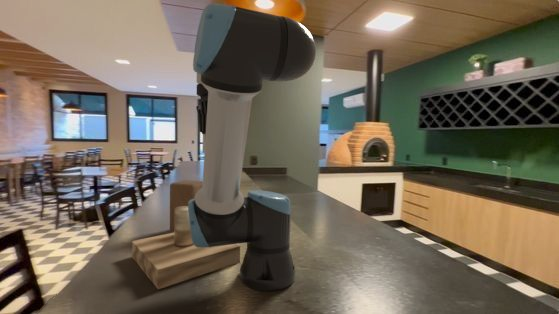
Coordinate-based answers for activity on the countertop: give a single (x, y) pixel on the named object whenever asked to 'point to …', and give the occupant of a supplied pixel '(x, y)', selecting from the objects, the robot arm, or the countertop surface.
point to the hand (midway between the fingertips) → (207, 152)
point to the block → (181, 196)
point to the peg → (182, 228)
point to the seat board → (179, 259)
